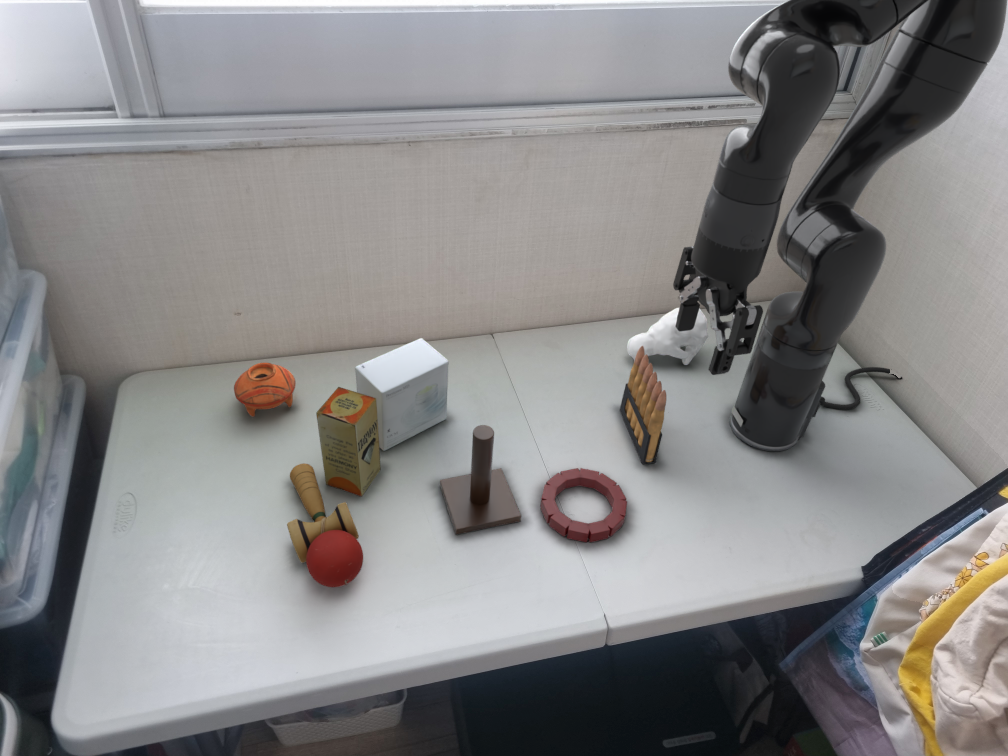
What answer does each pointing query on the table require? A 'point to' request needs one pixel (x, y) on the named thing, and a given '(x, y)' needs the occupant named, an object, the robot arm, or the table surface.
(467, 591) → the table surface
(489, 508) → the brown peg stand
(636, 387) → the ammunition clip
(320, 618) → the table surface
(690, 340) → the white lumpy piece
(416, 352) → the cosmetics box
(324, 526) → the kendama
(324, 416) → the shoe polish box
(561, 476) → the ring
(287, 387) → the pot
